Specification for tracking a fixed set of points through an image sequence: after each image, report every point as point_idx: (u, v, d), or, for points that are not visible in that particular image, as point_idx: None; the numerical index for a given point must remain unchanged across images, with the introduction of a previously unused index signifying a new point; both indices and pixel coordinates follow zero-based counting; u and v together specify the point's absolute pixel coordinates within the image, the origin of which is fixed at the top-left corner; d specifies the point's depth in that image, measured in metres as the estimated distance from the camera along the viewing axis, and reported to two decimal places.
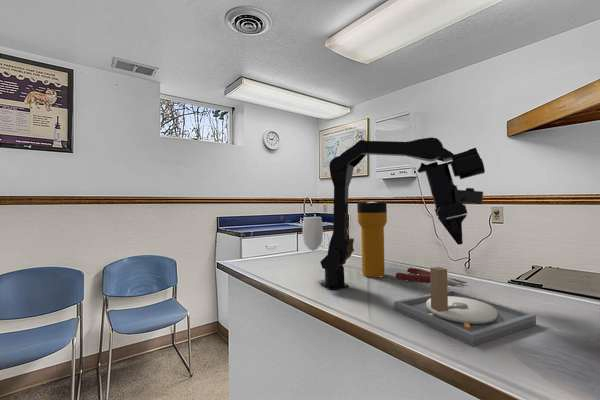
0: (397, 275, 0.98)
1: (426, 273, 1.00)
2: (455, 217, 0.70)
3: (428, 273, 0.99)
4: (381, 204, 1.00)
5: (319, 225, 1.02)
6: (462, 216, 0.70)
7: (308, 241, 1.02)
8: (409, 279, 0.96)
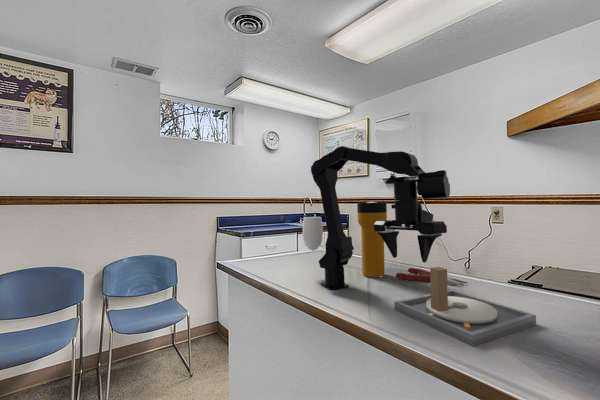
0: (397, 275, 0.98)
1: (427, 273, 1.00)
2: (436, 235, 0.71)
3: (429, 273, 0.99)
4: (381, 204, 1.00)
5: (319, 225, 1.02)
6: (440, 234, 0.72)
7: (308, 241, 1.02)
8: (409, 279, 0.95)
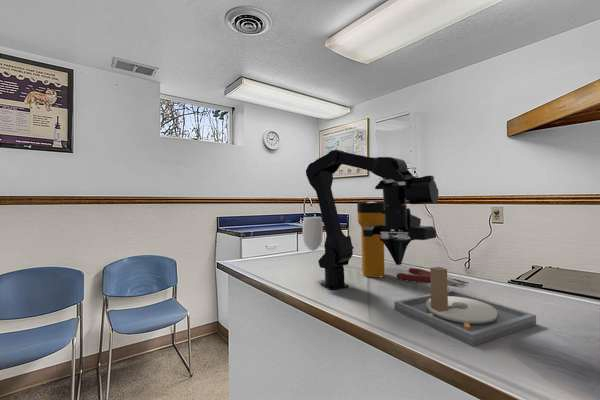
0: (398, 275, 0.98)
1: (427, 273, 1.00)
2: (410, 239, 0.75)
3: (429, 273, 0.99)
4: (381, 204, 1.00)
5: (319, 225, 1.02)
6: None
7: (308, 241, 1.02)
8: (410, 279, 0.95)
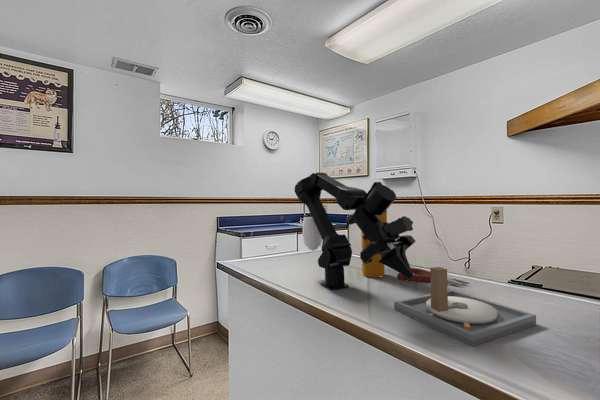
0: (399, 275, 0.98)
1: (428, 273, 0.99)
2: (386, 254, 0.71)
3: None
4: None
5: None
6: (391, 250, 0.70)
7: (308, 241, 1.02)
8: (411, 279, 0.95)
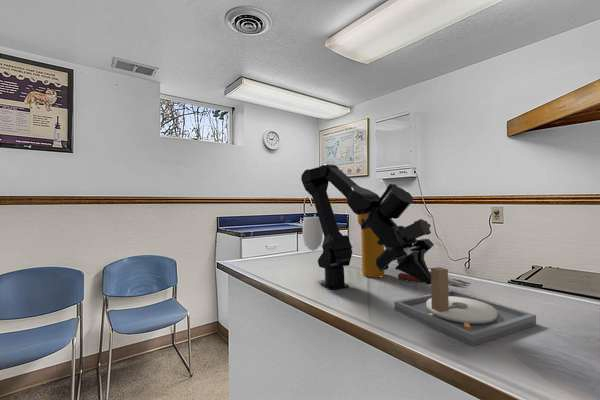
0: (400, 275, 0.98)
1: None
2: (403, 260, 0.67)
3: None
4: None
5: (319, 225, 1.02)
6: (408, 256, 0.66)
7: (308, 241, 1.02)
8: (412, 279, 0.95)
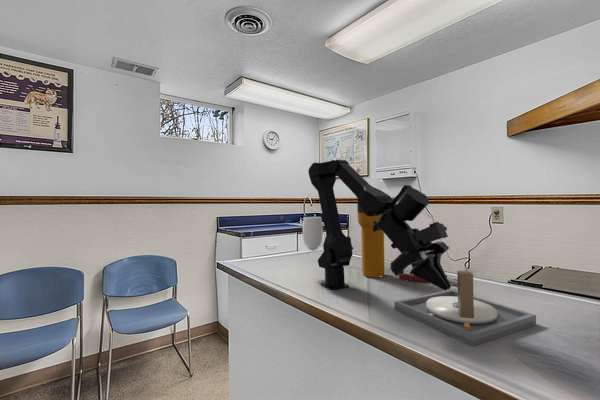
0: (401, 276, 0.97)
1: None
2: (419, 264, 0.64)
3: None
4: None
5: (319, 225, 1.02)
6: (424, 260, 0.64)
7: (308, 241, 1.02)
8: (413, 280, 0.95)
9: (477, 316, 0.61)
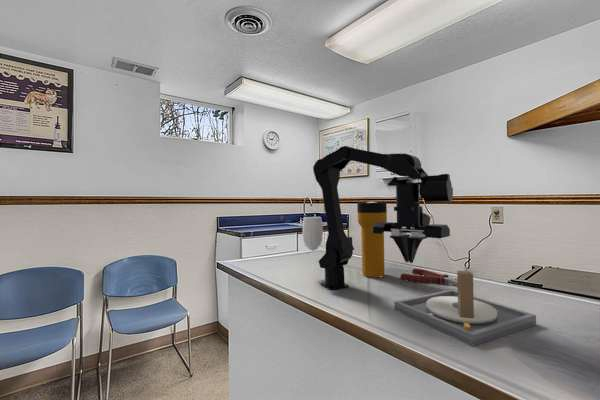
0: (402, 276, 0.97)
1: (431, 274, 0.99)
2: (424, 237, 0.75)
3: (433, 274, 0.98)
4: (381, 204, 1.00)
5: (319, 225, 1.02)
6: (426, 236, 0.76)
7: (308, 241, 1.02)
8: (414, 280, 0.94)
9: (477, 316, 0.61)
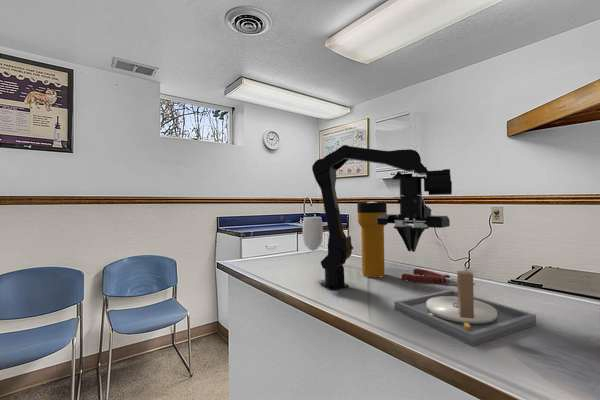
0: (403, 276, 0.97)
1: (432, 274, 0.98)
2: (425, 227, 0.80)
3: (435, 274, 0.97)
4: (381, 204, 1.00)
5: (319, 225, 1.02)
6: (428, 227, 0.81)
7: (308, 241, 1.02)
8: (415, 280, 0.94)
9: (477, 316, 0.61)
